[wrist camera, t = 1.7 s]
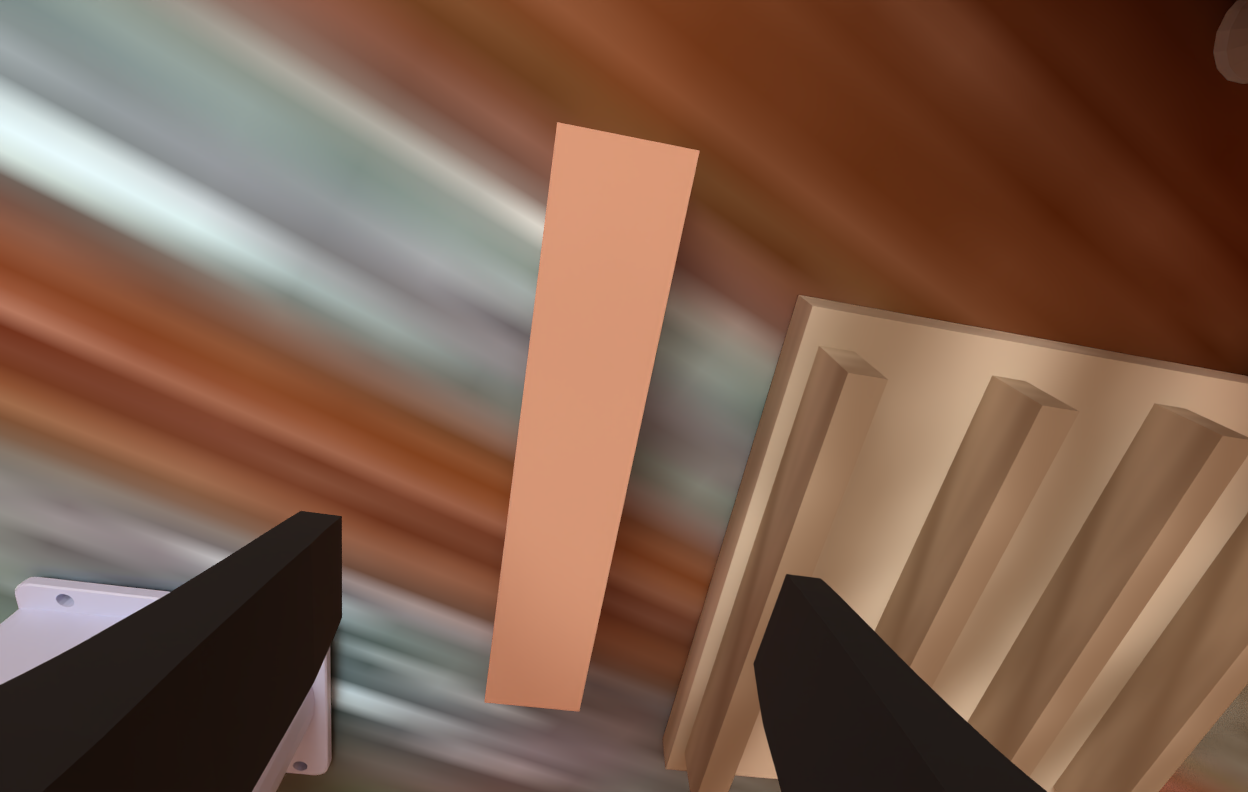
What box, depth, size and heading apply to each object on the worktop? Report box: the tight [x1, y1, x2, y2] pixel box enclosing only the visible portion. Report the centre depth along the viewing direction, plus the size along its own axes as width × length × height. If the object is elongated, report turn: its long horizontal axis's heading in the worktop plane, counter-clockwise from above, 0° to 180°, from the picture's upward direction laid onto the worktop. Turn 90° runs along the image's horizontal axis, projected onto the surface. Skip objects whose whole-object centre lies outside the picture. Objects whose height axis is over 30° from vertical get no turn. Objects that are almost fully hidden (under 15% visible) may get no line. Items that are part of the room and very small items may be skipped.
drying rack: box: [663, 295, 1248, 792], centre depth 19 cm, size 17×18×3 cm
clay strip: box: [485, 122, 699, 711], centre depth 15 cm, size 2×14×5 cm, turn 170°
